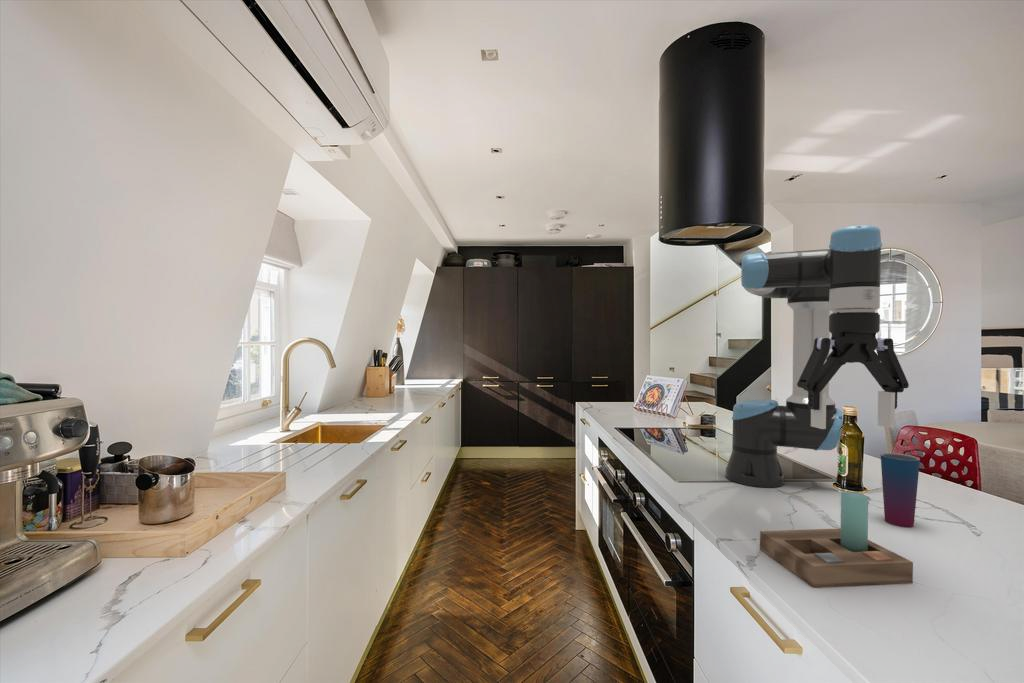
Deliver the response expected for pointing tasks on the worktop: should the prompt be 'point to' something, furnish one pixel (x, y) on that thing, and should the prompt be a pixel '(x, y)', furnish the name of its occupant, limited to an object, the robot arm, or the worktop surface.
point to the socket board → (834, 559)
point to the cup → (899, 488)
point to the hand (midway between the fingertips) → (852, 427)
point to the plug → (854, 522)
